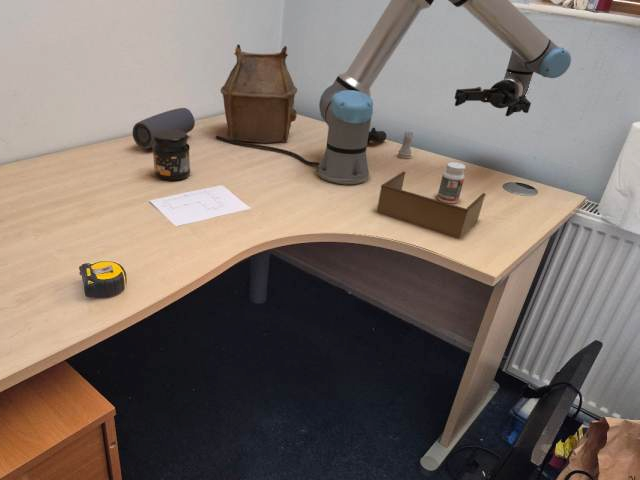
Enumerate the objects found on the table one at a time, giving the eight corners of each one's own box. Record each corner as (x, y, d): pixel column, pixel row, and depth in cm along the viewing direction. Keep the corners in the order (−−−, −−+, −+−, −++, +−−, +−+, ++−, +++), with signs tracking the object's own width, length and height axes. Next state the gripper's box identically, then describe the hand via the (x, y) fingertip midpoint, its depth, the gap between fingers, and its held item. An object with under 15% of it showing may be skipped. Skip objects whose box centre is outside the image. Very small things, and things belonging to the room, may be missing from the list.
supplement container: (147, 174, 152) (143, 133, 145) (174, 166, 158) (172, 126, 152) (169, 184, 146) (167, 142, 139) (198, 175, 152) (196, 135, 146)
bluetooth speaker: (175, 132, 186) (173, 103, 181) (196, 137, 182) (195, 108, 177) (132, 149, 170) (129, 118, 164) (154, 155, 166) (152, 123, 160)
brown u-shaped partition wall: (398, 196, 145) (403, 171, 141) (477, 220, 134) (485, 193, 130) (376, 211, 136) (381, 184, 132) (459, 238, 125) (467, 210, 121)
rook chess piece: (396, 157, 172) (400, 133, 168) (398, 153, 176) (403, 130, 171) (409, 159, 171) (414, 135, 167) (411, 155, 174) (416, 132, 170)
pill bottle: (459, 204, 142) (468, 170, 136) (437, 202, 143) (446, 167, 137) (456, 196, 147) (465, 162, 141) (436, 194, 147) (444, 160, 142)
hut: (296, 146, 178) (304, 52, 161) (218, 143, 178) (217, 48, 161) (293, 127, 197) (300, 40, 180) (222, 124, 196) (222, 37, 180)
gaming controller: (339, 142, 192) (334, 134, 182) (342, 126, 191) (338, 118, 182) (384, 149, 187) (381, 141, 177) (388, 133, 186) (386, 125, 177)
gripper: (545, 114, 148) (526, 130, 134) (460, 98, 160) (434, 110, 146) (555, 87, 144) (536, 100, 130) (466, 72, 156) (440, 82, 142)
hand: (482, 105), depth 138 cm, fingers open, 13 cm apart
